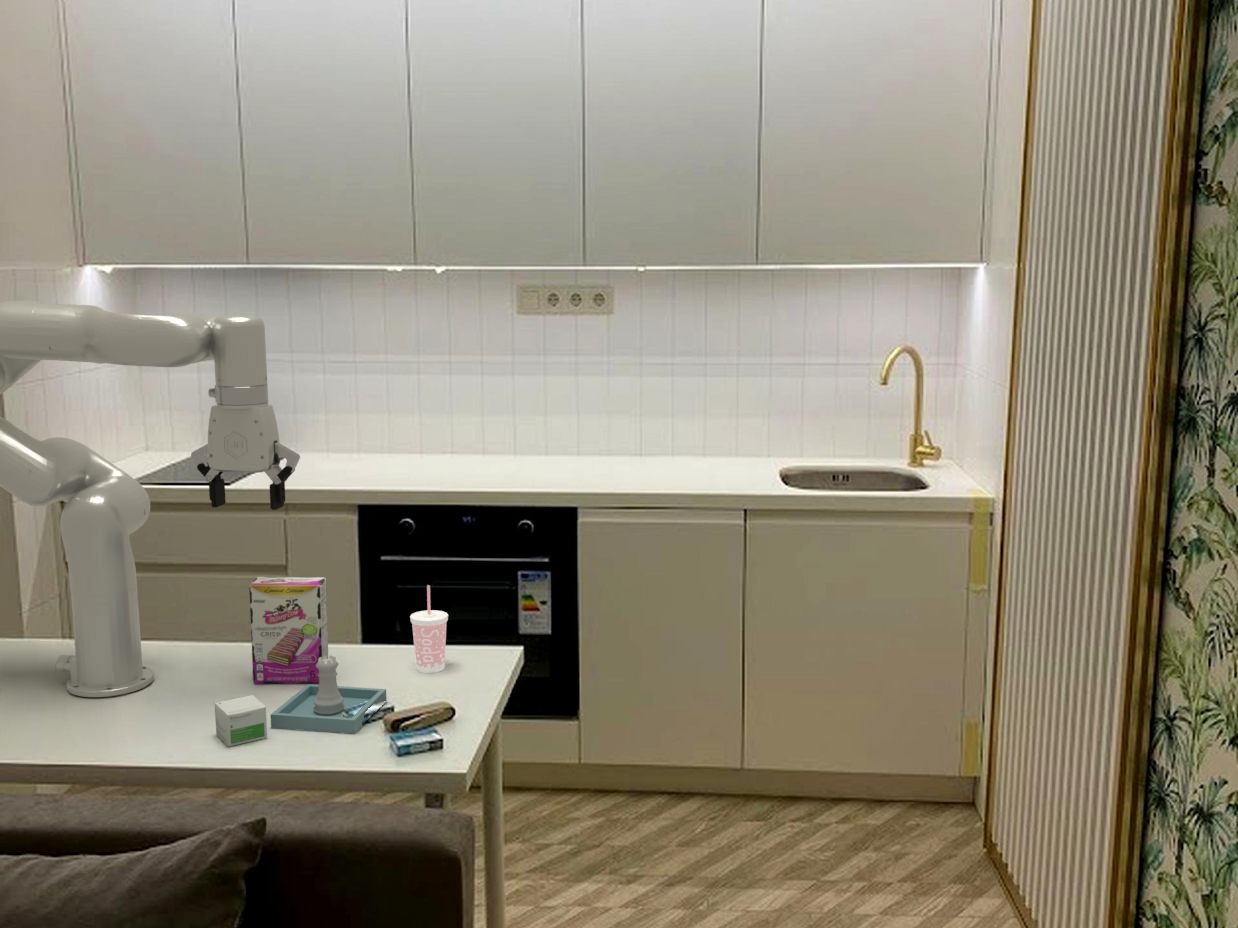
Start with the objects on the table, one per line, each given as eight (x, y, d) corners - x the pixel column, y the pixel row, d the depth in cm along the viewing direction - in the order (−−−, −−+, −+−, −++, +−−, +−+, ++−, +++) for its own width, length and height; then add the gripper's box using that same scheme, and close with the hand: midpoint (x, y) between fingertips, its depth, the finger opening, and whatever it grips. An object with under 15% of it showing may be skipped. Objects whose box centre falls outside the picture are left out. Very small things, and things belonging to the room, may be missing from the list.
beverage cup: (405, 672, 194) (403, 589, 191) (419, 660, 200) (417, 579, 197) (441, 675, 192) (439, 591, 190) (454, 663, 198) (452, 581, 196)
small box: (228, 748, 164) (226, 714, 163) (215, 734, 169) (213, 701, 168) (269, 738, 167) (267, 705, 166) (255, 726, 172) (253, 693, 171)
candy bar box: (252, 685, 188) (247, 584, 185) (260, 674, 193) (255, 575, 190) (324, 684, 188) (319, 583, 185) (330, 674, 193) (326, 575, 190)
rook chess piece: (328, 702, 179) (326, 651, 177) (351, 708, 177) (349, 656, 175) (306, 712, 175) (304, 660, 174) (329, 718, 173) (327, 665, 171)
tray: (271, 727, 171) (270, 714, 170) (308, 696, 183) (307, 684, 183) (354, 733, 169) (354, 720, 168) (386, 701, 181) (386, 689, 181)
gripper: (176, 398, 179) (183, 509, 182) (285, 400, 177) (290, 514, 180) (201, 392, 187) (208, 500, 190) (306, 395, 184) (310, 504, 187)
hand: (247, 506), depth 185 cm, fingers open, 9 cm apart
